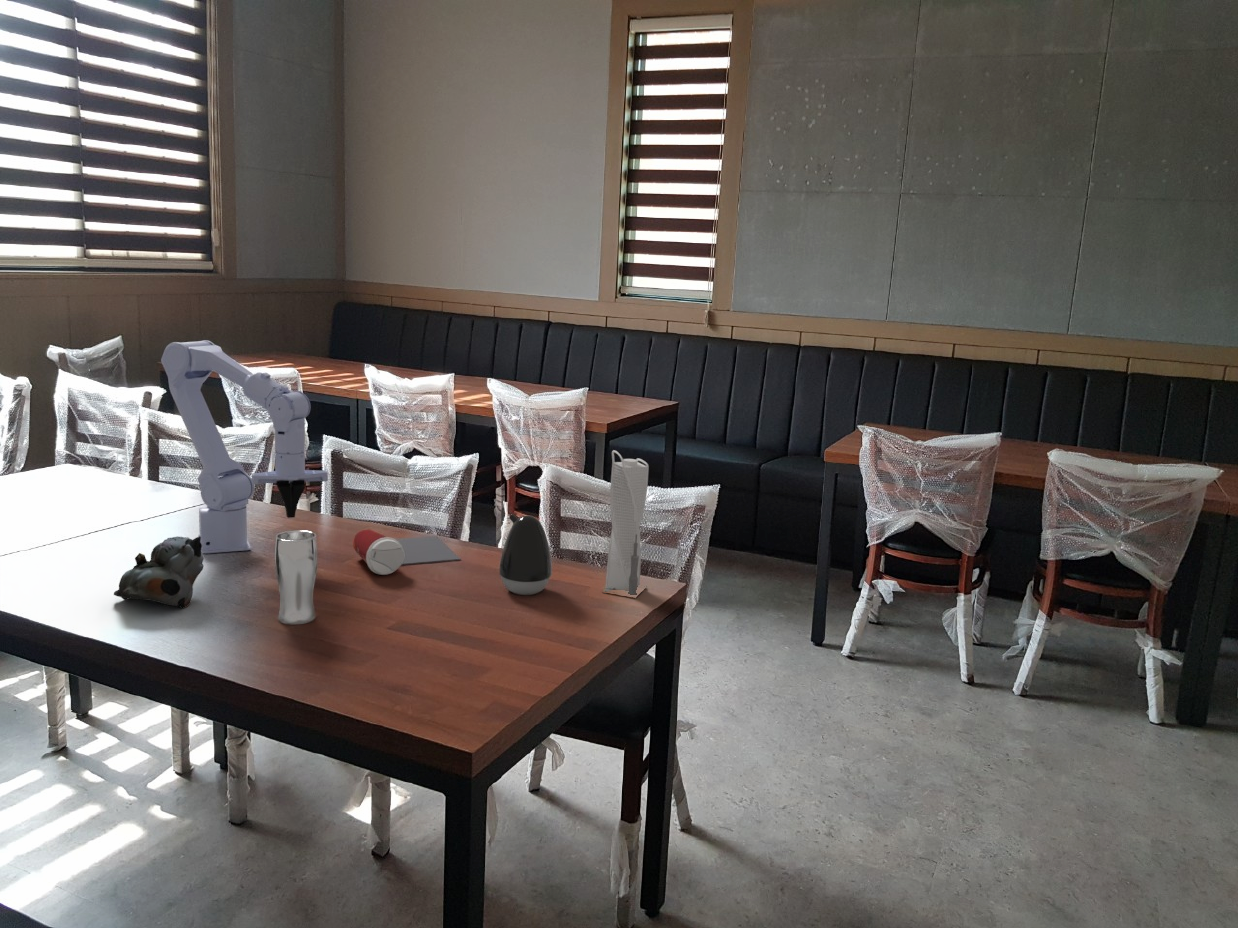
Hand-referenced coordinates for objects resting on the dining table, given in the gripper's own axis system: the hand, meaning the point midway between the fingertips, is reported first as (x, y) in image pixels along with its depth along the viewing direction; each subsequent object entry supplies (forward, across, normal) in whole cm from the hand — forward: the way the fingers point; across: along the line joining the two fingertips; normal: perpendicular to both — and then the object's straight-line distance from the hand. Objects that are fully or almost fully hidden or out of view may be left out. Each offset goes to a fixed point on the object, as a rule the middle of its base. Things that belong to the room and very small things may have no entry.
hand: (290, 516), depth 194 cm
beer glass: (+9, -4, -35) cm, 36 cm away
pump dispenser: (+9, +39, -33) cm, 52 cm away
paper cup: (+6, +15, -3) cm, 16 cm away
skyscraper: (+9, +58, -38) cm, 70 cm away
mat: (+9, +24, -2) cm, 26 cm away
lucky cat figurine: (+9, -25, -19) cm, 33 cm away
